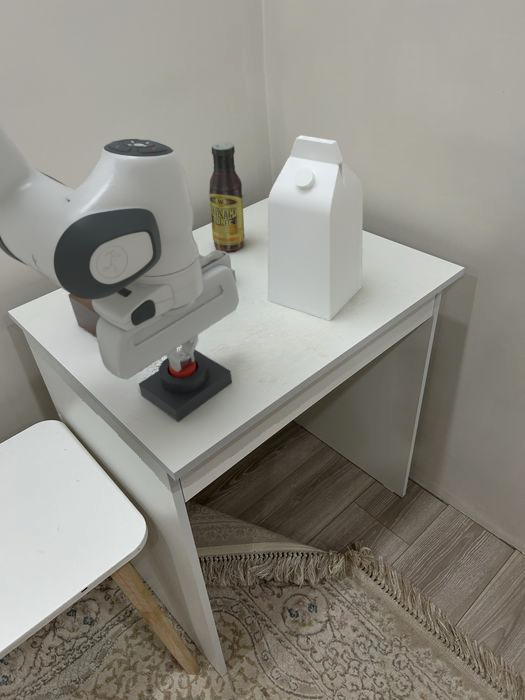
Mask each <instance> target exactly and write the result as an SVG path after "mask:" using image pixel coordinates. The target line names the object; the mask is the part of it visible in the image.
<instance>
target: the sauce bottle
mask: <svg viewBox="0 0 525 700" xmlns="http://www.w3.org/2000/svg"><path fill="white" fill-rule="evenodd" d="M235 149H236V148H235V144H234V143H233V142H229V141H218V142H215V143H213V144H212V145H211V155H212V160H213V172H212V174H211V177H210V179H209V193H208V196H209V197H208V198H209V209H210V210H209V211H210V219H211V233H212V241H213V244H214V248H215V249H216V250H220V251H225V252H235V251H238V250H240V249H241V248H243V246H244V243H245V221H244V200H243V199H244V198H243V197H244V196H243V189H242V187H243V183H242V180H241V178H240V177H239V174H237V172H236V165H235V152H236V151H235Z"/></svg>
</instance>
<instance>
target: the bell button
mask: <svg viewBox="0 0 525 700" xmlns="http://www.w3.org/2000/svg"><path fill="white" fill-rule="evenodd" d="M169 369H170V374H171V376H173V377H175V378H184V377H188V376H191V375H192V374H194V373H195V372H196V371H197V369H196V363H195V361H194V362H192V363H191V364H189V365H188V366H186V367H185V368H184V369H182V370H181V371H179V372H176V371H175V370H173V369H172V368H171V366H170V365H169Z"/></svg>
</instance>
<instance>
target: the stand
mask: <svg viewBox="0 0 525 700" xmlns="http://www.w3.org/2000/svg"><path fill="white" fill-rule="evenodd" d="M67 296H68V298H69V302H70V305H71V307H72V311H73V313H74V316H75V319H76V322H77V325H78V326H79V327H81V328H82V329H83V330H85V331H87V332H88V333H90V334H91V335H93V336H94V337H95V338H97V334H96V327H97V322H98V320H99V318H100V317H101V316H100V315H99V314H98V313H97V312H96V311H95V310H94V308H93V306H92V300H89V299H82V298H79V297H76V296H74V295H72V294H70V293H69V294H67Z"/></svg>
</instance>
